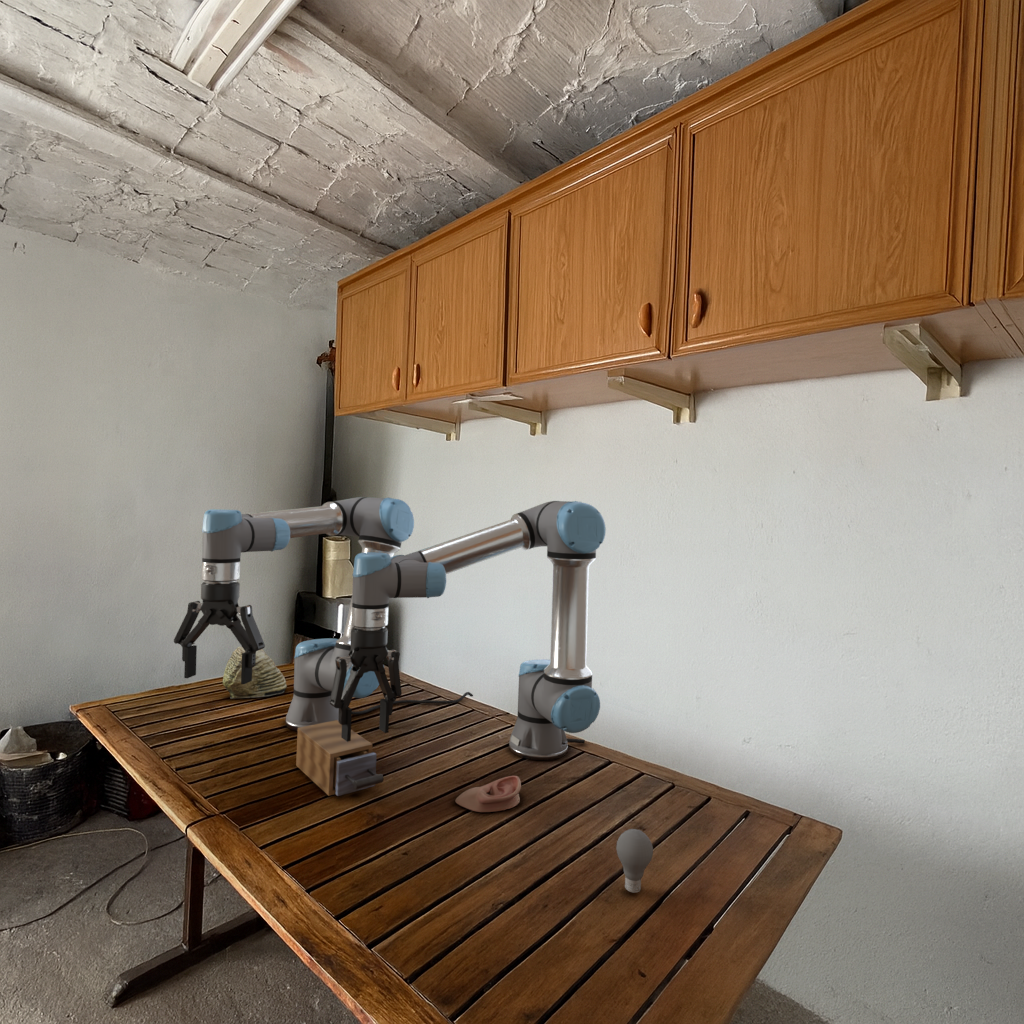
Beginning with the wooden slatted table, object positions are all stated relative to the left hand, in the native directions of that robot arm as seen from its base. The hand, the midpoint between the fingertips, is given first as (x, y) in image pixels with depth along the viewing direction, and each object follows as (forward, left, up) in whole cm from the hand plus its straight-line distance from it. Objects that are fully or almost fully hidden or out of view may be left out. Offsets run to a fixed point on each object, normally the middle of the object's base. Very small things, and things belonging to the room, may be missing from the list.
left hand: (218, 679), depth 136 cm
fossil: (-38, -51, -23) cm, 67 cm away
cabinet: (-21, +14, -23) cm, 34 cm away
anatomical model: (-36, +47, -23) cm, 64 cm away
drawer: (-19, +20, -22) cm, 35 cm away
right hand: (-18, +28, -9) cm, 34 cm away
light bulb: (-28, +86, -23) cm, 93 cm away
